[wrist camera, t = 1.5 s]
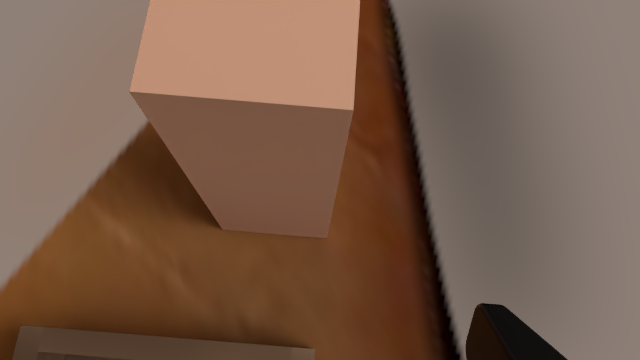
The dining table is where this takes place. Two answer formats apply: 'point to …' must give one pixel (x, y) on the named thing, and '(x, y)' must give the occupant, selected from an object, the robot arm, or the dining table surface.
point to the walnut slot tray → (139, 347)
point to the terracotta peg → (253, 104)
